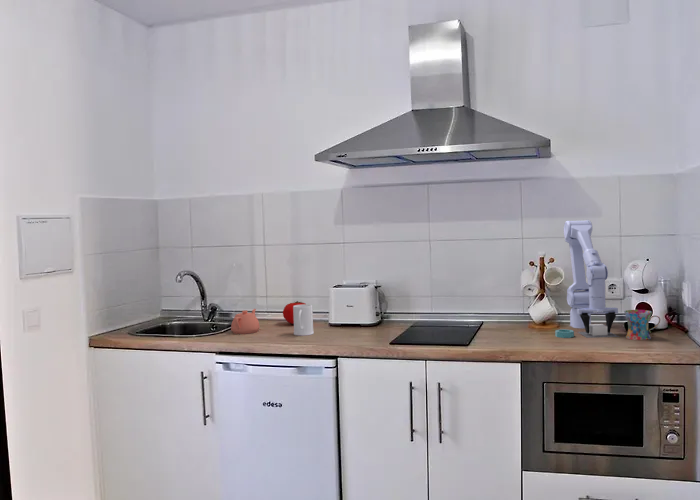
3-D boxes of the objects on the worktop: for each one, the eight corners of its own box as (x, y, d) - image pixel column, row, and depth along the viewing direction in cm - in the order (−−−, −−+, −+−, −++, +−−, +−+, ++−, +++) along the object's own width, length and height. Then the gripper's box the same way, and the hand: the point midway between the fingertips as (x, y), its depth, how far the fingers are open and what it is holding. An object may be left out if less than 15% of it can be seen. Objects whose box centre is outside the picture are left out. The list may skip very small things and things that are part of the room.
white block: (588, 333, 251) (588, 324, 251) (602, 332, 251) (602, 324, 251) (592, 335, 246) (592, 326, 246) (607, 335, 246) (607, 326, 246)
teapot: (223, 335, 282) (222, 313, 281) (244, 327, 299) (243, 307, 298) (248, 335, 278) (247, 313, 277) (268, 328, 294) (267, 307, 294)
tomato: (309, 325, 298) (308, 302, 297) (282, 326, 297) (281, 303, 297) (310, 321, 311) (309, 298, 310) (284, 322, 311) (283, 299, 310)
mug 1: (308, 337, 269) (306, 308, 269) (288, 337, 271) (287, 308, 271) (316, 332, 281) (315, 304, 280) (297, 331, 283) (296, 304, 282)
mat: (577, 334, 255) (577, 331, 255) (608, 333, 254) (608, 331, 254) (586, 340, 243) (586, 337, 243) (619, 339, 242) (619, 336, 242)
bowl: (554, 337, 250) (553, 329, 250) (570, 337, 250) (570, 329, 250) (558, 340, 244) (558, 332, 244) (575, 340, 244) (575, 332, 244)
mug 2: (624, 342, 237) (623, 313, 237) (624, 337, 246) (624, 309, 245) (660, 343, 232) (660, 314, 232) (660, 339, 241) (660, 310, 240)
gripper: (581, 298, 244) (581, 335, 245) (620, 297, 244) (621, 333, 244) (575, 296, 251) (576, 331, 252) (613, 295, 251) (614, 330, 251)
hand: (597, 332), depth 248 cm, fingers open, 7 cm apart
